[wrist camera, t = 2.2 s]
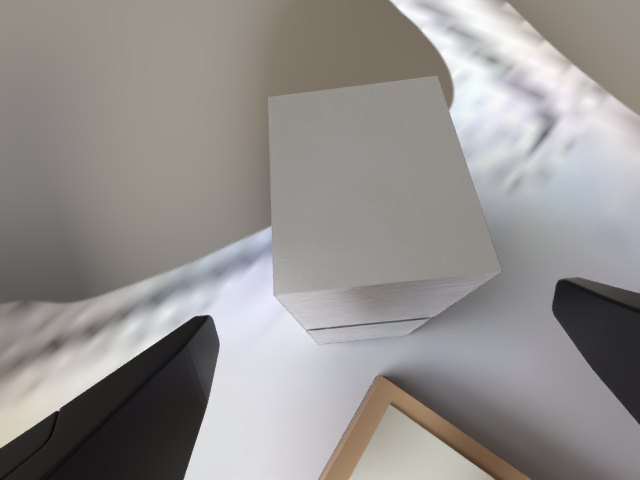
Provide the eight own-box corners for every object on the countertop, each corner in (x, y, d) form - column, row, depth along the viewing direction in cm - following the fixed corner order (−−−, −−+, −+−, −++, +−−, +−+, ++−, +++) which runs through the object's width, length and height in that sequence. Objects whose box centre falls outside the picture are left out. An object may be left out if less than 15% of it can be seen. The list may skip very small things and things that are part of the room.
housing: (405, 335, 18) (502, 270, 7) (318, 344, 18) (273, 295, 7) (387, 238, 20) (437, 75, 9) (310, 247, 20) (268, 97, 9)
